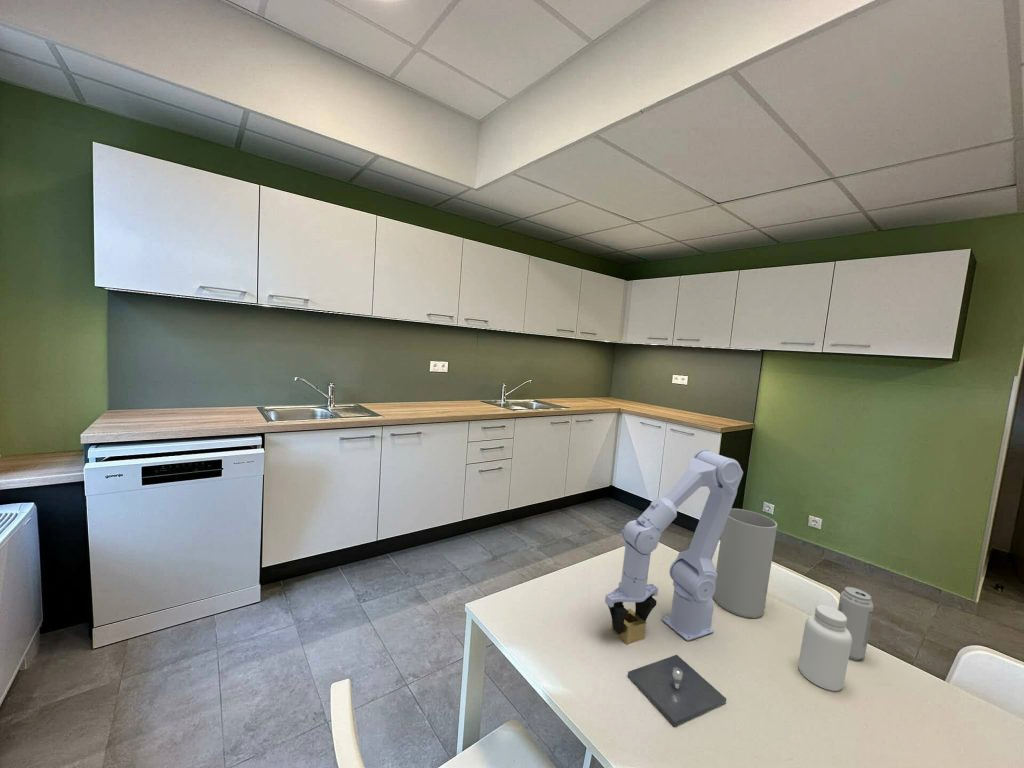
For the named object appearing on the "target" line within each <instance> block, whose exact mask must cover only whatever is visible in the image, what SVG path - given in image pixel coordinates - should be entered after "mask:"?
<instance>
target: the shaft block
mask: <svg viewBox="0 0 1024 768" xmlns="http://www.w3.org/2000/svg"><path fill="white" fill-rule="evenodd" d="M627 678H629V680H631V681H632V683H633V684H634V685H635V686H636V687H637V688H638V690H639V691H640V692H642V694H643V695H644V696H645V697H646V698H647V699H648V700H649V702H651V704H652V705H653V706H654V707H655V708H656V709H657V710H658V711H659V712H660V713H661V714H662V716H663V717H664V718H665V719H666V720H667V721H668V722H669V723H670V724H671V726H673V728H675V727H678V726H680V725H683V724H684V723H686V722H688V721H691V720H693V719H695V718H698V717H700V716H702V715H704V714H706V713H709V712H711V711H712V710H716V709H717V708H719V707H721V706H724V705H726V704H727V697H726V696H725V695H723V694H722V693H721V692H720V691H718V690H717V689H716V687H714V686H713V685H712V684H711V683H710V682H709V681H707V680H706V679H705V678H704V677H703V676H702V675H700V674H699V672H697V670H695V669H694V668H693V667H692V666H690V665H689V664H688V663H687V662H686V661H685V660H684V659H682V658H681V657H680V656H679V654H675V655H671V656H669V657H667V658H664V659H660V660H658V661H657V660H656V661H654V662H651V663H650V664H647V665H643V666H641V667H640V666H639V667H638V668H634V669H632V670H629V671H627Z"/></svg>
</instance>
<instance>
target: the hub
mask: <svg viewBox="0 0 1024 768" xmlns="http://www.w3.org/2000/svg"><path fill="white" fill-rule="evenodd" d="M626 609H627V608H626ZM627 610H628V611H629V612H628V614H627V615H626V617H625V620H624V624H623V629H622V633H621V634H617V633H616V632H615V631H614V630H613V624H612V623H611V625H610V629H611V630H612V632H614V634H616V636H618V638H619V639H621V640H622V641H623V642H624V643H625V645H629V644H632V643H637V642H638V641H643V640H645V637H646V636H645V635H646V630H647V629H646V628H647V621H646V622H645V621H644V620H643V619H641V618H640V617H639V616H638V615H637V614H636V613H635V611H634V610H632V609H631V608H628V609H627Z"/></svg>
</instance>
